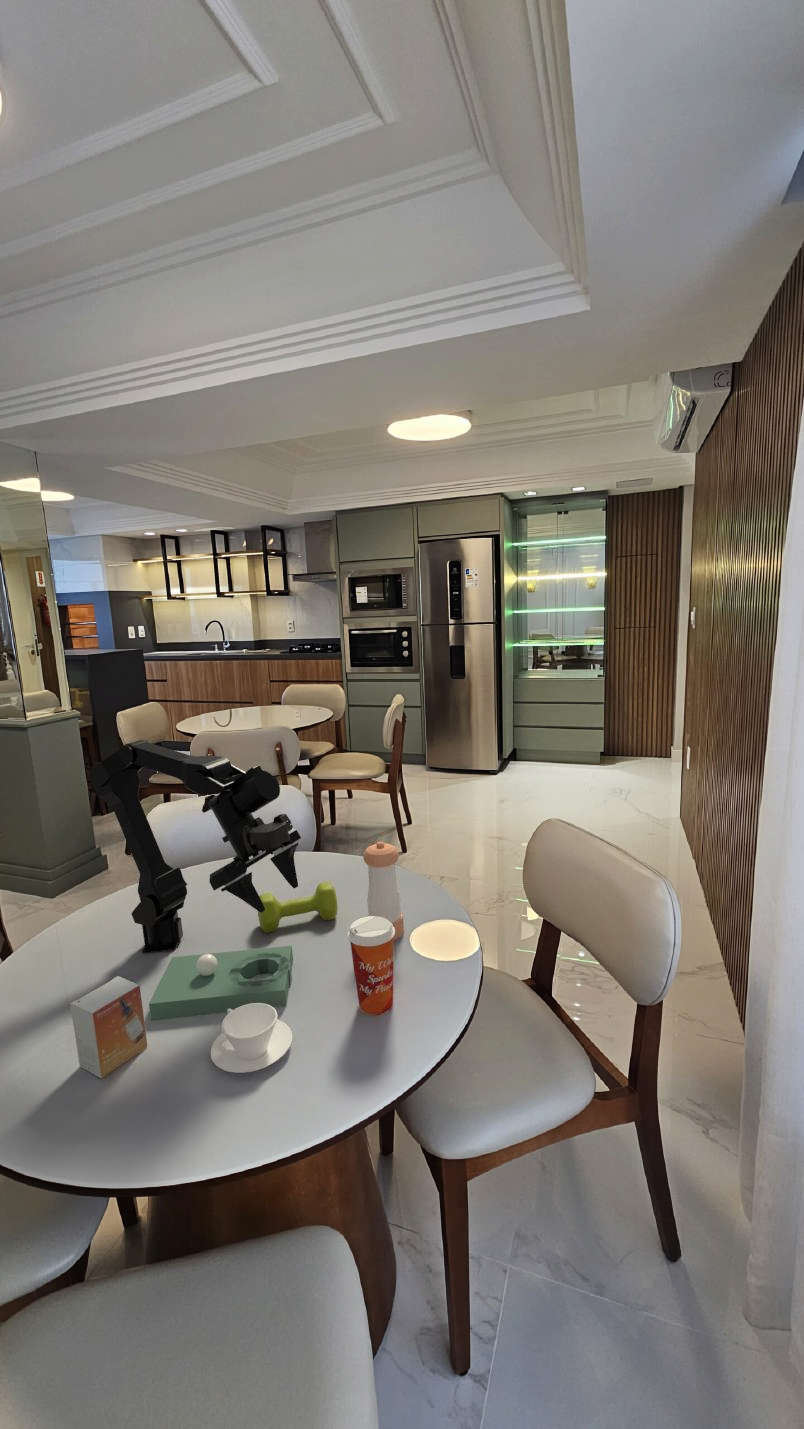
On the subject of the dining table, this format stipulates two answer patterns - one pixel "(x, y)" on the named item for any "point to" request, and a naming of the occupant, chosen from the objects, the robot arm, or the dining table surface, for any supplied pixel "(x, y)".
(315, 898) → the dumbbell
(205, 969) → the ball
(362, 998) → the paper cup
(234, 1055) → the teacup
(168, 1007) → the green slab with hollow
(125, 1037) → the small box
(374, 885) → the salt shaker
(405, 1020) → the dining table surface
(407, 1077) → the dining table surface
